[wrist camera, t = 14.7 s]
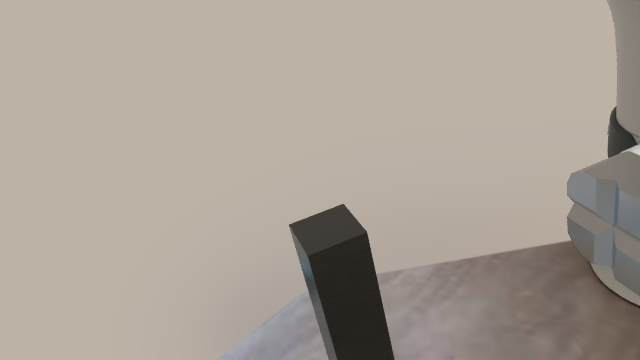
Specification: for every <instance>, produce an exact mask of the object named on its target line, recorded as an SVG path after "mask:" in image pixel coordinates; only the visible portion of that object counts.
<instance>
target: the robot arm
mask: <svg viewBox="0 0 640 360" xmlns="http://www.w3.org/2000/svg"><path fill="white" fill-rule="evenodd" d="M607 2H608V4H609V7H610V10H611V13H612V17H613V22H614V27H615V36H616V50H617V51H616V52H617V106H616V107H615V108H614V109H613V111H612V113H611V116H610V124H609V126H608V135H609V136H608V159H606V160H603V161H601V162H599V163H596V164H594V165H591V166H589V167H587V168H584V169H582V170H579V171H577V172H575V173H572V174H571V176H570V178H569V181H568V185H567V195H568V196H569V198H570V199H571V200H572V201H573V202H574V205H573V207H572V209H571V211H570V212H569V214H568V216H567V219H568V220H567V221H568V233H569V236H570V238H571V240H572V242H573V245H574V247H575V248H576V249H577V250H578V251H579V253H580V254H581V255H582V256H583V257H584V258H586V259H587V260H589V261H590V263H591V266H592V268H593V270H594V272H595V273H596V275H597V276H598V277H599V278H600V280H601V281H602V282H603V283H604V284H605V285H606V286H608V287H609V288H610V289H611V290H613V291H614V292H615V293H617V294H618V295H620V296H622V297H623V298H625V299H627V300H629V301H630V302H633V303H635V304H637V305H639V306H640V0H607Z"/></svg>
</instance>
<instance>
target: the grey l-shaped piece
mask: <svg viewBox="0 0 640 360" xmlns="http://www.w3.org/2000/svg"><path fill="white" fill-rule="evenodd" d="M289 227H290V230H291V234H292V237H293V241H294V244H295V247H296V251H297V254H298V257H299V260H300V264H301V267H302V271H303V274H304V277H305V281H306V284H307V288H308V291H309V294H310V298H311V301H312V305H313V308H314V311H315V315H316V318H317V321H318V325H319V328H320V331H321V335H322V338H323V342H324V345H325V348H326V352H327V355H328V358H329V360H394V355H393V351H392V346H391V341H390V337H389V332H388V327H387V323H386V318H385V313H384V309H383V304H382V299H381V295H380V290H379V285H378V281H377V276H376V272H375V267H374V262H373V258H372V254H371V248H370V244H369V239H368V235H367V231H366V230H365V229H364V228H363V227H362V226H361V224H360V223H359V222H358V221H357V220H356V218H355V217H354V216H353V215H352V214H351V212H350V211H349V210H348V209H347V208H346V207H345V205H344V204H342V205H339V206H336V207H334V208H331V209H329V210H326V211H323V212H321V213H318V214H316V215H313V216H310V217H308V218H306V219H303V220H300V221H297V222H295V223H292V224H290V225H289Z"/></svg>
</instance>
